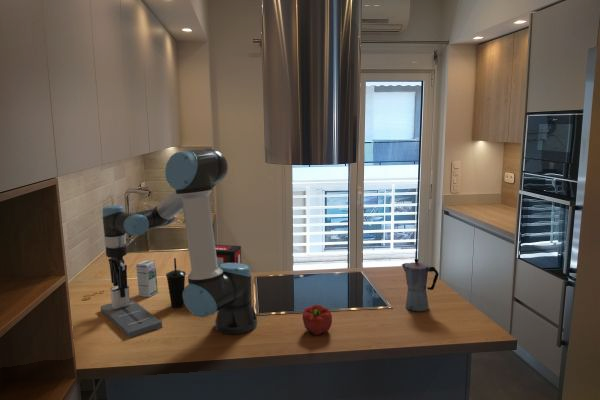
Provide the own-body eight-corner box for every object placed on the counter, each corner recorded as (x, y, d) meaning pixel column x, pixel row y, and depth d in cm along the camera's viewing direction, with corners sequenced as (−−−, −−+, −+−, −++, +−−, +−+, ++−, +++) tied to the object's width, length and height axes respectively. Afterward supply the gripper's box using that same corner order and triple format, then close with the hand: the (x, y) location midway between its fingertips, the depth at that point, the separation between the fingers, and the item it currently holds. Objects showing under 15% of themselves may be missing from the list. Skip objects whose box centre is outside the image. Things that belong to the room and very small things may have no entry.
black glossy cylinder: (182, 310, 174) (179, 261, 170) (164, 308, 175) (161, 260, 172) (190, 302, 181) (188, 256, 178) (173, 301, 183) (170, 255, 179)
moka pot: (404, 299, 182) (405, 253, 179) (441, 308, 173) (443, 259, 170) (395, 307, 175) (396, 259, 171) (433, 316, 166) (435, 266, 162)
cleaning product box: (199, 294, 190) (197, 250, 186) (207, 287, 198) (205, 244, 195) (235, 296, 187) (234, 251, 183) (242, 289, 195) (240, 245, 192)
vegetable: (330, 341, 148) (330, 313, 146) (300, 338, 150) (299, 311, 148) (333, 326, 159) (333, 300, 157) (305, 324, 161) (305, 298, 159)
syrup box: (149, 297, 187) (147, 265, 184) (138, 296, 189) (135, 263, 186) (158, 292, 192) (155, 261, 190) (146, 291, 194) (144, 259, 191)
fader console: (161, 327, 159) (161, 321, 159) (128, 338, 152) (128, 332, 151) (131, 302, 182) (130, 297, 181) (100, 310, 174) (100, 305, 173)
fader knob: (130, 304, 174) (128, 285, 172) (114, 309, 170) (112, 289, 168) (127, 302, 176) (125, 283, 174) (111, 306, 172) (110, 287, 171)
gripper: (133, 247, 165) (138, 306, 169) (118, 239, 177) (123, 294, 181) (113, 251, 160) (118, 312, 164) (99, 243, 172) (104, 299, 176)
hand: (120, 302), depth 173 cm, fingers closed on fader knob, 3 cm apart
